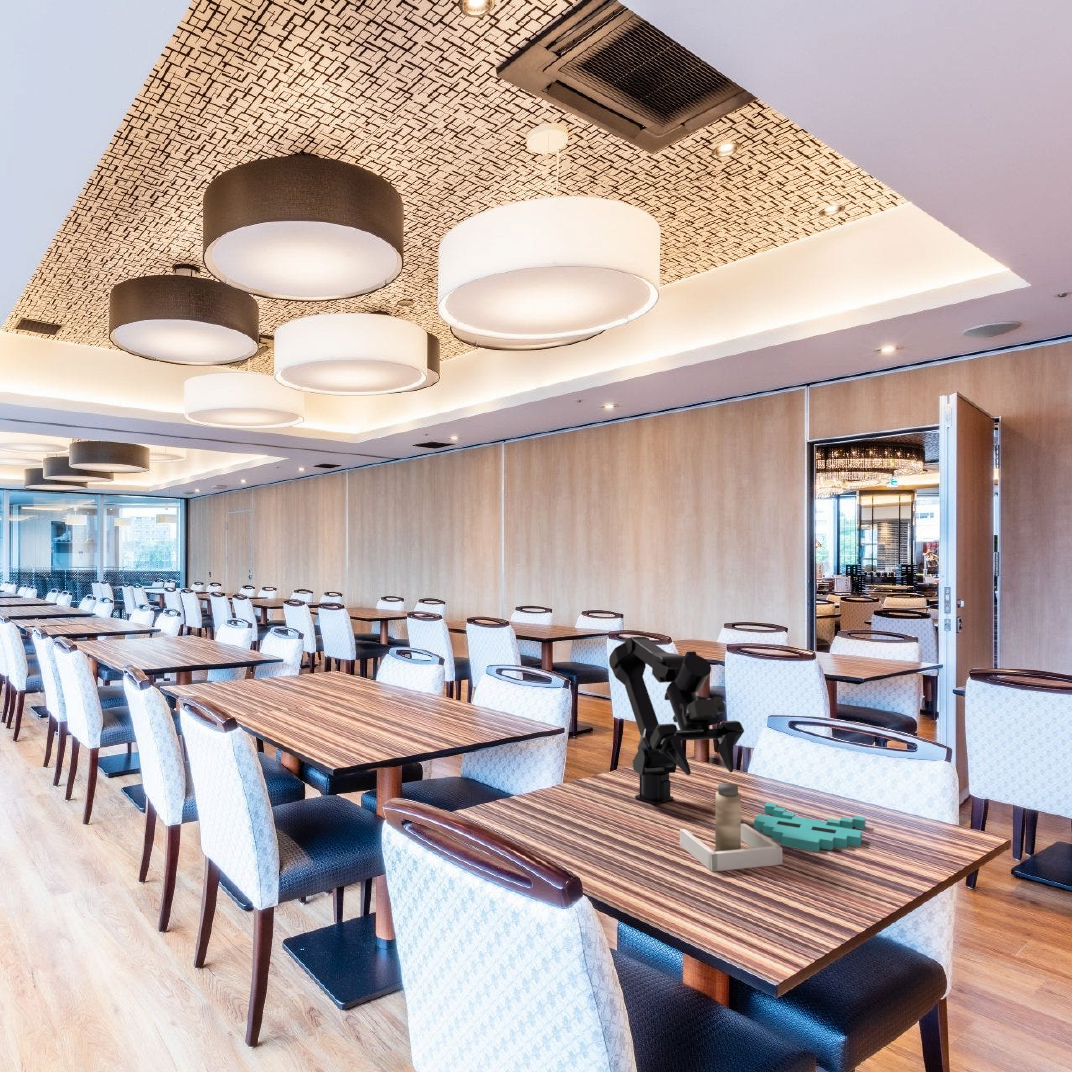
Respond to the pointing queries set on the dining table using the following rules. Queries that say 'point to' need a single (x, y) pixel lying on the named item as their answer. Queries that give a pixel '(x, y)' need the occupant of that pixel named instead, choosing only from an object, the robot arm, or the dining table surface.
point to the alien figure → (809, 830)
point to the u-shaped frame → (735, 851)
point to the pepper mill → (727, 818)
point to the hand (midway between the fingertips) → (710, 772)
